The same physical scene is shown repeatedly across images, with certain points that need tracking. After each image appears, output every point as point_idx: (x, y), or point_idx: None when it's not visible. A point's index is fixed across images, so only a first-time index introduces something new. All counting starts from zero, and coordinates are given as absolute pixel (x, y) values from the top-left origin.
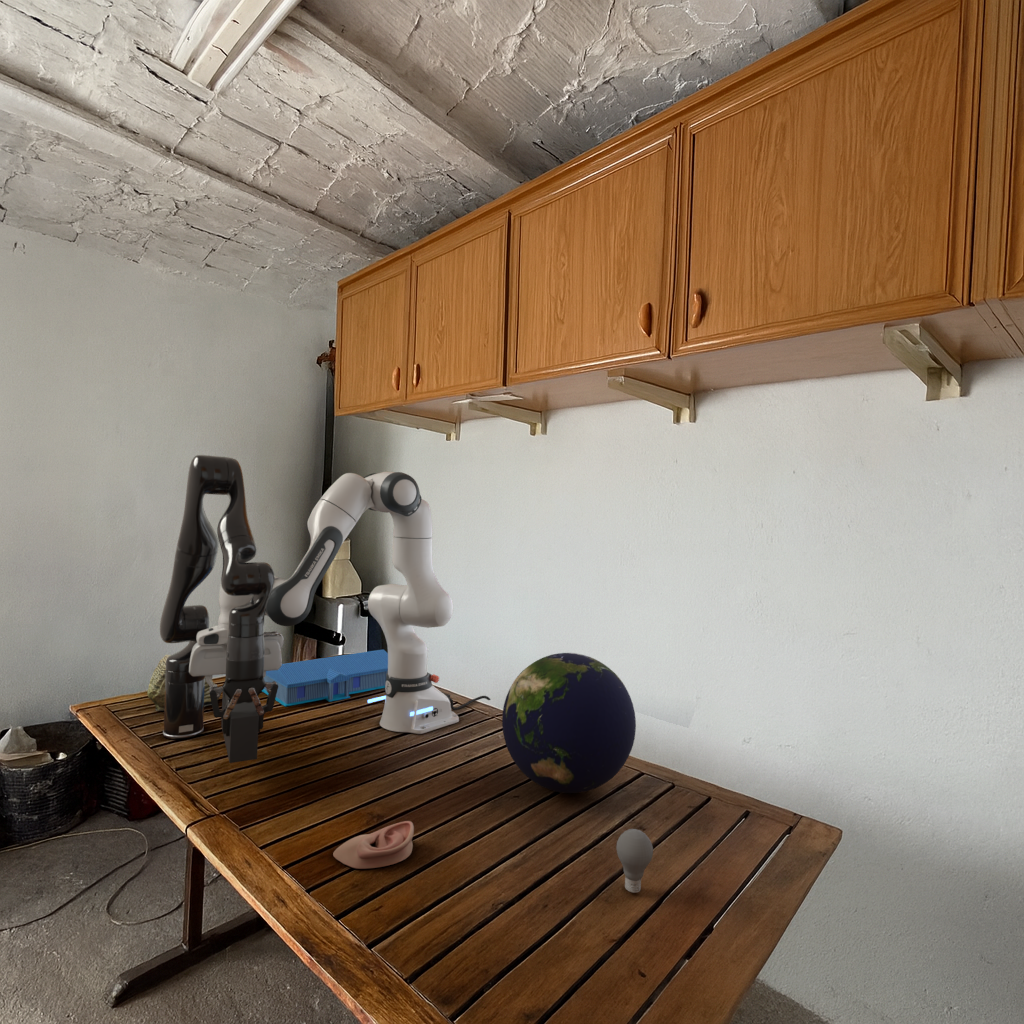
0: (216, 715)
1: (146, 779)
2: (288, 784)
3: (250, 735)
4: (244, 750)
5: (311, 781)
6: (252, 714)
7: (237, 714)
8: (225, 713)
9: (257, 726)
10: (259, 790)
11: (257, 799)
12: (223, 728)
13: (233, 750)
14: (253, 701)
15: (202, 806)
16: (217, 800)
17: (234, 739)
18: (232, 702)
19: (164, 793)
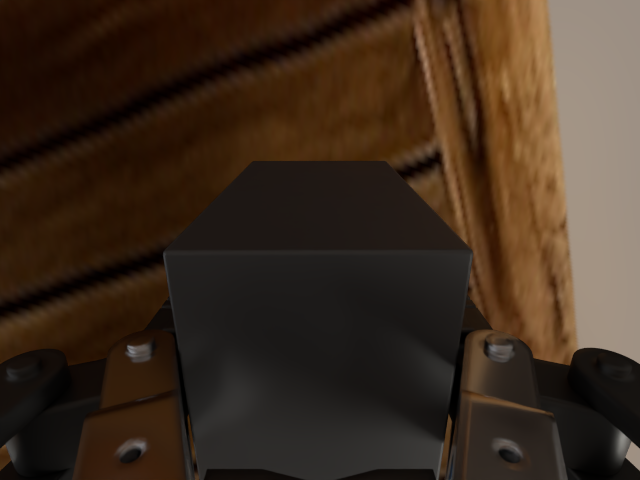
0: (615, 359)
1: (572, 355)
2: (155, 152)
3: (274, 193)
4: (315, 170)
5: (70, 145)
6: (231, 308)
7: (384, 358)
8: (524, 370)
9: (207, 212)
10: (259, 143)
11: (271, 65)
12: (466, 300)
13: (378, 173)
14: (174, 454)
15: (460, 88)
16: (405, 118)
17: (386, 188)
18: (527, 473)
19: (549, 242)
